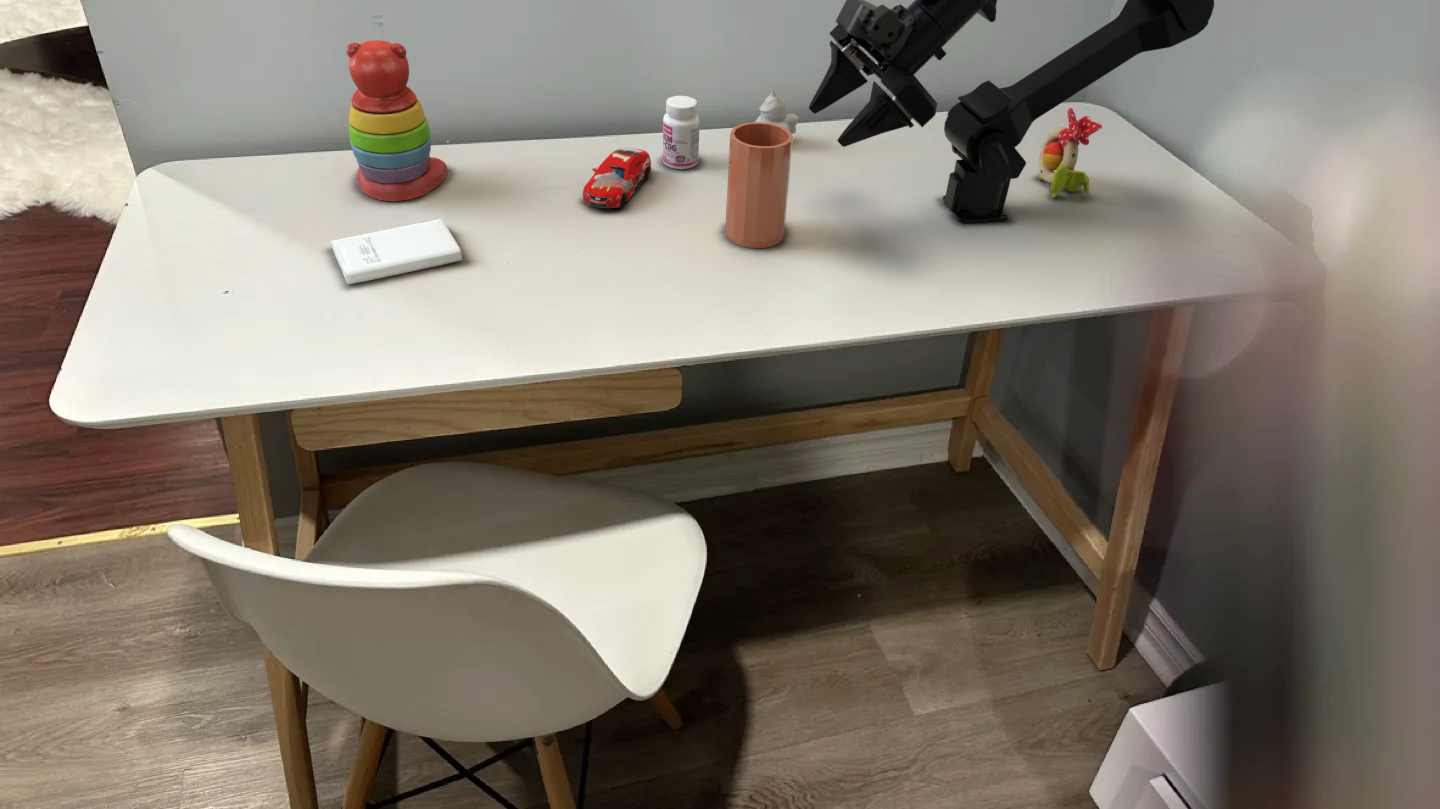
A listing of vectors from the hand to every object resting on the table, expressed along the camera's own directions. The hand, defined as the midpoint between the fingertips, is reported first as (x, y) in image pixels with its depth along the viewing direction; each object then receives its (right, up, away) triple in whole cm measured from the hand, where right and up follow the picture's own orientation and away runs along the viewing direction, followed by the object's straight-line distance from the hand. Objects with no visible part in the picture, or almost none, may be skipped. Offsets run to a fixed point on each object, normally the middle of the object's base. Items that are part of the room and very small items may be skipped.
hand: (825, 126), depth 113 cm
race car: (-25, -4, +14) cm, 29 cm away
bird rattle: (+32, -3, +19) cm, 38 cm away
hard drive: (-48, -15, -1) cm, 50 cm away
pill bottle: (-17, +1, +21) cm, 27 cm away
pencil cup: (-8, -11, +6) cm, 15 cm away
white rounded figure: (-4, +5, +27) cm, 28 cm away
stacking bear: (-52, -4, +12) cm, 54 cm away
